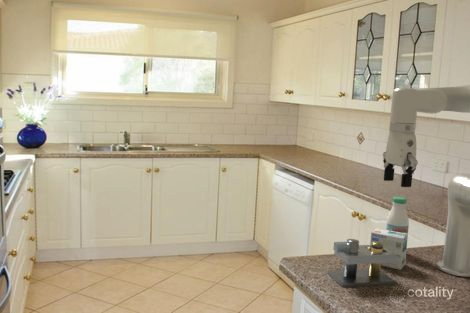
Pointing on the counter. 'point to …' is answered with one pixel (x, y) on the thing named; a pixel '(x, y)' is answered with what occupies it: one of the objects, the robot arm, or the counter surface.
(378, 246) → the pin
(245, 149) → the counter surface
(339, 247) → the grey metal stand
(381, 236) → the light bulb box
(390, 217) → the milk bottle
